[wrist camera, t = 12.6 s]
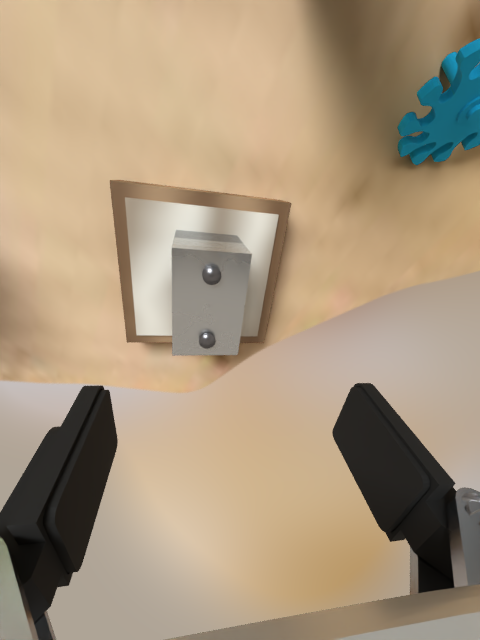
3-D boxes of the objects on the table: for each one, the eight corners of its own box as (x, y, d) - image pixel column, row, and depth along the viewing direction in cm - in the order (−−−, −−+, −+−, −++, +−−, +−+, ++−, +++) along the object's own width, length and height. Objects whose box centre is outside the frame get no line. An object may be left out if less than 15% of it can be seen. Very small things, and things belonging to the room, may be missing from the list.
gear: (373, 162, 22) (524, -5, 13) (356, 110, 24) (480, -72, 14) (459, 177, 26) (625, 55, 17) (439, 131, 27) (582, -4, 18)
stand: (280, 200, 24) (292, 203, 21) (257, 328, 30) (264, 344, 28) (119, 179, 21) (108, 180, 18) (132, 326, 28) (126, 344, 25)
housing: (237, 235, 22) (253, 255, 16) (227, 318, 25) (238, 358, 20) (176, 229, 21) (171, 249, 15) (175, 317, 24) (172, 358, 19)
